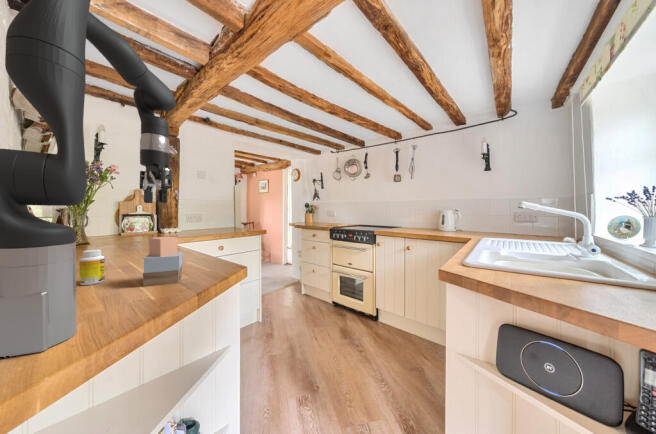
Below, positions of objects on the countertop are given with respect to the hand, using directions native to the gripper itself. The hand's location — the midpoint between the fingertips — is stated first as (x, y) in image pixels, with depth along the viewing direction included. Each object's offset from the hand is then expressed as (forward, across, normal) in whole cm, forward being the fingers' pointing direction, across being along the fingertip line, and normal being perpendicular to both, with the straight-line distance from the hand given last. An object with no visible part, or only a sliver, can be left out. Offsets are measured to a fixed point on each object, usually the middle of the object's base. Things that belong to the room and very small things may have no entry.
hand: (155, 202), depth 73 cm
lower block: (+26, 0, -3) cm, 26 cm away
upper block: (+21, 0, -3) cm, 21 cm away
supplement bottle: (+26, +16, +10) cm, 32 cm away
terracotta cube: (+17, 0, -2) cm, 17 cm away
